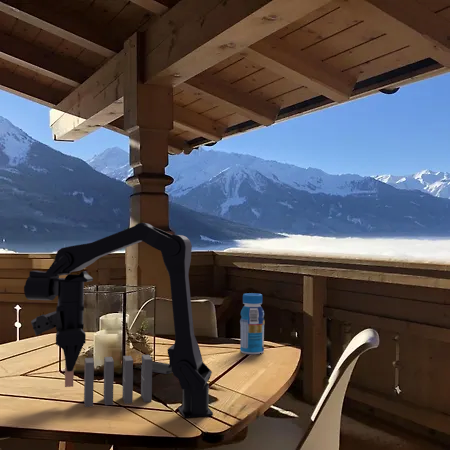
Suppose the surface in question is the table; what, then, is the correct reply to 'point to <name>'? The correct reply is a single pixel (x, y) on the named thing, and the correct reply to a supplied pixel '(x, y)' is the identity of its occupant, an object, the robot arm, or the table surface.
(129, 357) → the domino
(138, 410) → the table surface
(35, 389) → the table surface
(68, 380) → the domino
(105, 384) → the domino
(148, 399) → the domino
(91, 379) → the domino
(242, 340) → the beverage bottle
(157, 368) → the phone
